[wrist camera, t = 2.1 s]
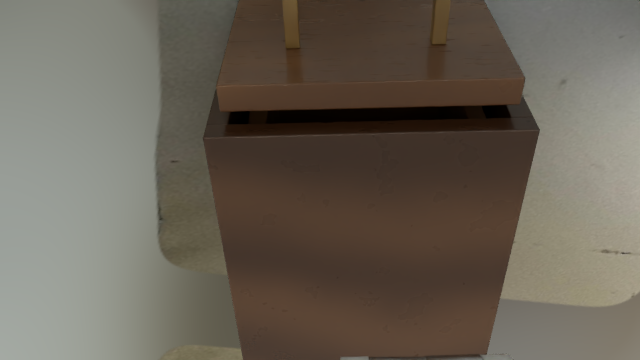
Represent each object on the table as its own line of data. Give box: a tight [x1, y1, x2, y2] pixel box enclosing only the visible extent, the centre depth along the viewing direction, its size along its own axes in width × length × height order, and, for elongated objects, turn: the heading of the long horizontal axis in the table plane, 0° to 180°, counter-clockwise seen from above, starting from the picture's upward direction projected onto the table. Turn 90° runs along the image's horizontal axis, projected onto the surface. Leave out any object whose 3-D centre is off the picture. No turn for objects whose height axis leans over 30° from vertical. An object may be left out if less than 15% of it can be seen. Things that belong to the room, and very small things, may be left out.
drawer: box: [216, 0, 525, 124], centre depth 29 cm, size 18×12×8 cm, turn 2°
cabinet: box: [203, 89, 540, 360], centre depth 32 cm, size 15×13×10 cm
